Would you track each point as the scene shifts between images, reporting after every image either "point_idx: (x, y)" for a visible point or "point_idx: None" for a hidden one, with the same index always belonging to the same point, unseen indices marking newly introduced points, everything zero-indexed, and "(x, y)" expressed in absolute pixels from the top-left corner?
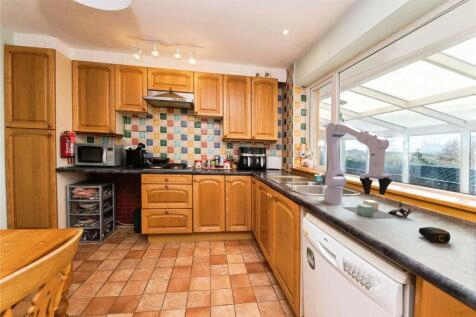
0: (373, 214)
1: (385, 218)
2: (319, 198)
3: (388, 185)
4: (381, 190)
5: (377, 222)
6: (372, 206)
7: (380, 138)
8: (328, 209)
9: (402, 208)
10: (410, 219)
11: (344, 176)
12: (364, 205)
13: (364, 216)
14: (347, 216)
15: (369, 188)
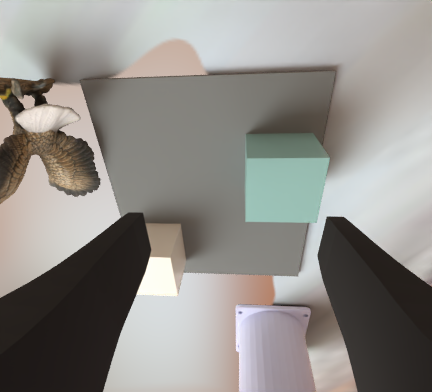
0: (219, 160)
1: (204, 76)
2: None
3: (15, 292)
4: (131, 266)
5: (326, 7)
6: (161, 238)
7: None
8: None
9: (18, 133)
10: (25, 67)
11: None
12: (284, 200)
13: (320, 125)
14: (416, 149)
15: (390, 268)
